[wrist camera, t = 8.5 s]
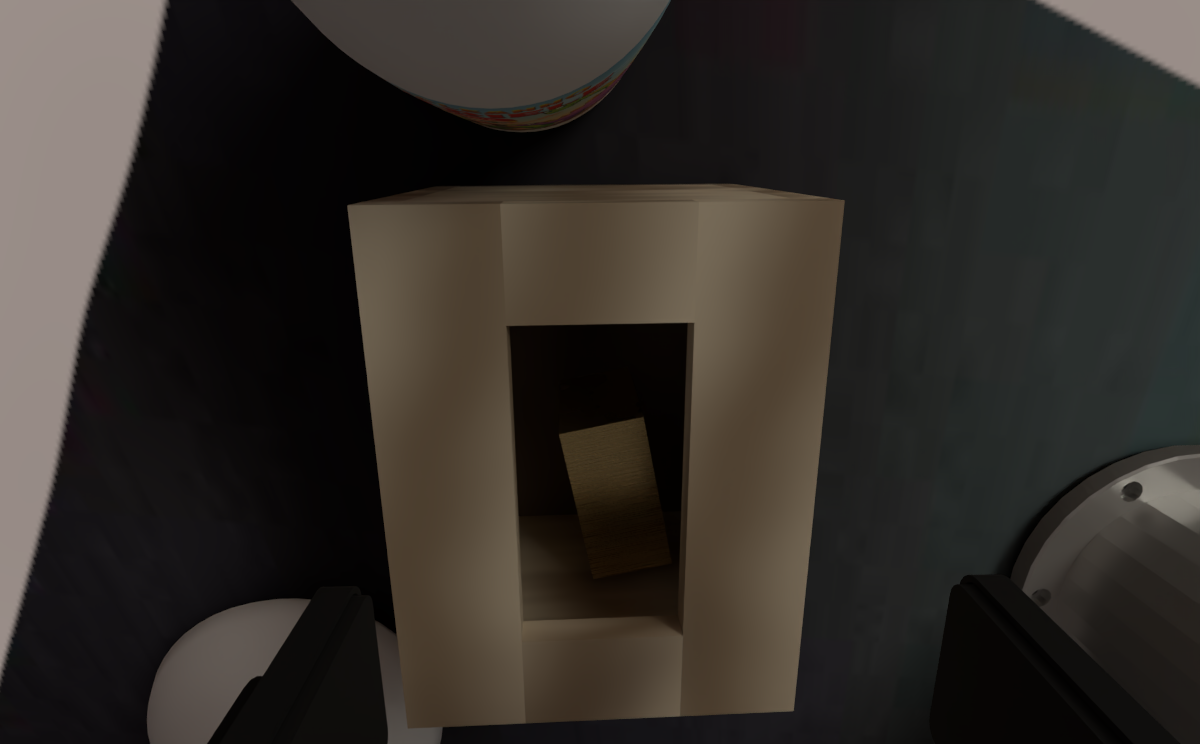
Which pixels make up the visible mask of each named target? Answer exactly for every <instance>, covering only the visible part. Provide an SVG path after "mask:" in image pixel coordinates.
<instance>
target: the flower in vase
mask: <svg viewBox="0 0 1200 744" xmlns="http://www.w3.org/2000/svg"><path fill="white" fill-rule="evenodd" d="M310 601H311V599H299V598H290V599H273V600H265V601H259V602H253V603H248V604H245V605H241V606H237V607H233V608H230V609H227V610H225V611H222V612H220V613H217V614H215V615H213V616H211V617H209V618H207V619H206V620H204V621H202V622H200V623H198V624H197V625H196V626H194V627H193V628H192V629H190V630H189V631H188V632H186V633H185V634H184V635H183V636H182V637H181V638H180V639H179V640H178V641H177V642H176V643H175V644H174V645H173V646H172V647H171V649H170V650H169V652H168V653H167V654H166V656H165V657H164V659H163V661H162V663H161V665H160V667H159V669H158V671H157V673H156V676H155V680H154V683H153V687H152V691H151V695H150V699H149V704H148V712H147V729H148V736H149V740H150V744H207V743H208V741H209V740H210V738H211V737H212V735H213V734H214V732H215V731H216V729H217V728H218V726H219V725H220V723H221V722H222V720H223V719H224V717H225V716H226V714H227V712H228V711H229V709H230V708H231V706H232V705H233V703H234V702H235V700H236V699H237V697H238V696H239V694H240V693H241V691H242V690H243V688H244V687H245V686H246V684H247V683H248V682H249V681H250V680H251V679H253V678H255V677H256V676H263V675H264V673H265V672H266V670H267V668H268V667H269V665H270V664H271V662H272V661H273V659H274V657H275V656H276V654H277V653H278V651H279V650H280V648H281V646H282V645H283V643H284V642H285V640H286V639H287V637H288V635H289V634H290V632H291V631H292V629H293V628H294V626H295V624H296V623H297V621H298V620H299V618H300V616H301V615H302V613H303V612H304V610H305V609H306V607H307V605H308V604H309V602H310ZM375 626H376V634H377V642H378V650H379V659H380V667H381V675H382V684H383V692H384V700H385V708H386V717H387V725H388V744H440V742H441V738H442V727H431V728H410V729H408V727H407V718H406V709H405V701H404V692H403V683H402V675H401V666H400V657H399V649H398V640H397V634H395V633H394V632H393V631H391V630H390V629H388V628H387V627H386V626H384V625H383V624H381V623H379V622H378V621H376V620H375Z"/></svg>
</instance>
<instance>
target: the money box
mask: <svg viewBox="0 0 1200 744" xmlns="http://www.w3.org/2000/svg"><path fill="white" fill-rule="evenodd" d="M347 207H348V216H349V224H350V233H351V242H352V250H353V259H354V268H355V276H356V285H357V294H358V302H359V311H360V320H361V328H362V337H363V346H364V354H365V363H366V372H367V380H368V389H369V398H370V406H371V415H372V424H373V432H374V441H375V450H376V458H377V467H378V476H379V484H380V493H381V501H382V510H383V519H384V527H385V536H386V545H387V553H388V562H389V571H390V579H391V588H392V597H393V605H394V614H395V623H396V631H397V640H398V649H399V657H400V666H401V675H402V683H403V692H404V701H405V709H406V718H407V727H408V729H410V728H431V727H453V726H475V725H497V724H519V723H541V722H563V721H585V720H607V719H629V718H651V717H673V716H695V715H717V714H739V713H761V712H783V711H794V702H795V692H796V682H797V672H798V662H799V652H800V642H801V632H802V622H803V612H804V602H805V592H806V582H807V572H808V562H809V552H810V542H811V532H812V522H813V512H814V502H815V492H816V482H817V472H818V462H819V452H820V442H821V432H822V422H823V412H824V401H825V391H826V381H827V371H828V361H829V351H830V341H831V331H832V321H833V311H834V301H835V291H836V281H837V271H838V261H839V251H840V241H841V231H842V221H843V211H844V200H837V199H831V198H824V197H817V196H810V195H804V194H797V193H790V192H784V191H777V190H770V189H763V188H757V187H750V186H743V185H736V184H611V185H489V186H435V187H430V188H425V189H421V190H416V191H411V192H407V193H402V194H397V195H393V196H388V197H383V198H379V199H374V200H370V201H365V202H360V203H356V204H351V205H347ZM627 366H628V368H629V372H630V375H631V378H632V381H633V384H634V388H635V391H636V394H637V397H638V401H639V404H640V407H641V410H642V414H643V417H644V422H645V427H646V432H647V437H648V442H649V448H650V453H651V458H652V463H653V468H654V473H655V478H656V484H657V489H658V494H659V499H660V504H661V509H662V515H663V520H664V525H665V530H666V535H667V540H668V545H669V551H670V556H671V561H672V563H670V564H666V565H661V566H656V567H651V568H646V569H641V570H636V571H631V572H626V573H621V574H616V575H612V576H607V577H602V578H597V579H593V575H592V571H591V567H590V563H589V559H588V554H587V550H586V546H585V542H584V538H583V533H582V529H581V525H580V521H579V517H578V512H577V508H576V504H575V500H574V496H573V491H572V487H571V483H570V479H569V475H568V470H567V466H566V462H565V458H564V454H563V449H562V445H561V441H560V437H559V401H560V380H564V379H569V378H574V377H579V376H584V375H588V374H593V373H598V372H603V371H608V370H613V369H617V368H622V367H627Z"/></svg>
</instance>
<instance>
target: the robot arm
mask: <svg viewBox="0 0 1200 744" xmlns="http://www.w3.org/2000/svg"><path fill="white" fill-rule="evenodd" d="M930 729H931V734H932V737H933V740H934V742H935V744H1200V445H1181V446H1170V447H1165V448H1160V449H1155V450H1150V451H1145V452H1142V453H1140V454H1137V455H1134V456H1132V457H1129V458H1126V459H1124V460H1121V461H1118V462H1116V463H1114V464H1112V465H1110V466H1108V467H1106V468H1105V469H1103V470H1101V471H1099V472H1097V473H1096V474H1094V475H1092V476H1090V477H1088V478H1087V479H1086V480H1084V481H1083V482H1082V483H1080V484H1079V485H1078V486H1076V487H1075V488H1074V489H1073V490H1071V491H1070V492H1069V493H1067V494H1066V495H1065V496H1063V497H1062V498H1061V499H1060V500H1059V501H1058V502H1057V503H1056V504H1055V505H1054V506H1053V508H1052V509H1051V510H1050V511H1049V512H1048V513H1047V514H1046V515H1045V516H1044V517H1043V518H1042V519H1041V520H1040V522H1039V523H1038V525H1037V526H1036V528H1035V529H1034V530H1033V532H1032V533H1031V535H1030V536H1029V538H1028V539H1027V540H1026V542H1025V544H1024V546H1023V548H1022V550H1021V552H1020V554H1019V556H1018V558H1017V560H1016V563H1015V565H1014V567H1013V570H1012V574H1011V578H1008V577H1007V576H1005V575H1001V574H997V575H967V576H964V577H963V579H962V580H961V582H960V584H957V585H954V586H953V588H952V589H951V593H950V598H949V604H948V610H947V616H946V622H945V628H944V634H943V640H942V646H941V652H940V658H939V664H938V670H937V676H936V682H935V688H934V694H933V700H932V706H931V712H930ZM207 744H388V725H387V717H386V708H385V700H384V692H383V684H382V675H381V667H380V659H379V650H378V642H377V634H376V626H375V617H374V609H373V602H372V598H371V596H369V595H361V591H360V589H359V587H357V586H334V587H321V588H319V589H318V590H317V591H316V593H315V594H314V596H313V598H312V599H311V601H310V602H309V604H308V605H307V607H306V609H305V610H304V612H303V613H302V615H301V616H300V618H299V620H298V621H297V623H296V624H295V626H294V628H293V629H292V631H291V632H290V634H289V635H288V637H287V639H286V640H285V642H284V643H283V645H282V646H281V648H280V650H279V651H278V653H277V654H276V656H275V657H274V659H273V661H272V662H271V664H270V665H269V667H268V668H267V670H266V672H265V673H264V675H263V676H256V677H255V678H253V679H251V680H250V681H249V682H248V683H247V684H246V686H245V687H244V688H243V690H242V691H241V693H240V694H239V696H238V697H237V699H236V700H235V702H234V703H233V705H232V706H231V708H230V709H229V711H228V712H227V714H226V716H225V717H224V719H223V720H222V722H221V723H220V725H219V726H218V728H217V729H216V731H215V732H214V734H213V735H212V737H211V738H210V740H209V741H208V743H207Z"/></svg>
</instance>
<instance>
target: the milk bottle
mask: <svg viewBox="0 0 1200 744" xmlns="http://www.w3.org/2000/svg"><path fill="white" fill-rule="evenodd" d="M291 1H292V2H293V3H294V4H295V5H296V6H297V7H298V8H299V9H300V10H301V11H302V12H303V13H304V14H305V15H306V16H307V17H308V19H309V20H310V21H311V22H312V23H313V24H314V25H315V26H316V27H317V28H318V29H319V30H320V31H321V32H322V33H323V34H324V35H325V36H326V37H327V38H328V39H329V40H330V41H332V42H333V43H334V44H335V45H336V46H337V47H338V48H339V49H341V50H342V51H343V52H344V53H346V54H347V55H348V56H350V57H351V58H352V59H354V60H355V61H357V62H358V63H359V64H361V65H362V66H364V67H365V68H367V69H368V70H370V71H372V72H373V73H375V74H376V75H378V76H379V77H381V78H383V79H384V80H386V81H387V82H389V83H391V84H392V85H394V86H396V87H397V88H399V89H401V90H402V91H404V92H406V93H408V94H410V95H412V96H414V97H416V98H419V99H421V100H423V101H425V102H427V103H429V104H431V105H433V106H436V107H438V108H440V109H442V110H444V111H446V112H449V113H451V114H454V115H456V116H458V117H461V118H463V119H466V120H469V121H471V122H474V123H476V124H479V125H482V126H485V127H488V128H492V129H496V130H502V131H508V132H536V131H542V130H547V129H551V128H555V127H558V126H561V125H563V124H566V123H568V122H570V121H572V120H574V119H576V118H578V117H580V116H581V115H583V114H585V113H586V112H588V111H589V110H590V109H592V108H593V107H594V106H595V105H597V104H598V103H599V102H600V101H601V100H602V99H603V98H604V97H605V96H607V95H608V94H609V92H610V91H611V90H612V89H613V88H614V86H615V85H616V84H617V83H618V82H619V80H620V79H621V77H622V76H623V75H624V73H625V72H626V70H627V69H628V68H629V66H630V65H631V63H632V62H633V60H634V59H635V57H636V56H637V55H638V53H639V52H640V50H641V49H642V47H643V46H644V44H645V43H646V41H647V40H648V38H649V36H650V35H651V33H652V32H653V30H654V29H655V27H656V25H657V24H658V22H659V21H660V19H661V17H662V15H663V13H664V12H665V10H666V8H667V6H668V5H669V3H670V1H671V0H291Z"/></svg>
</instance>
